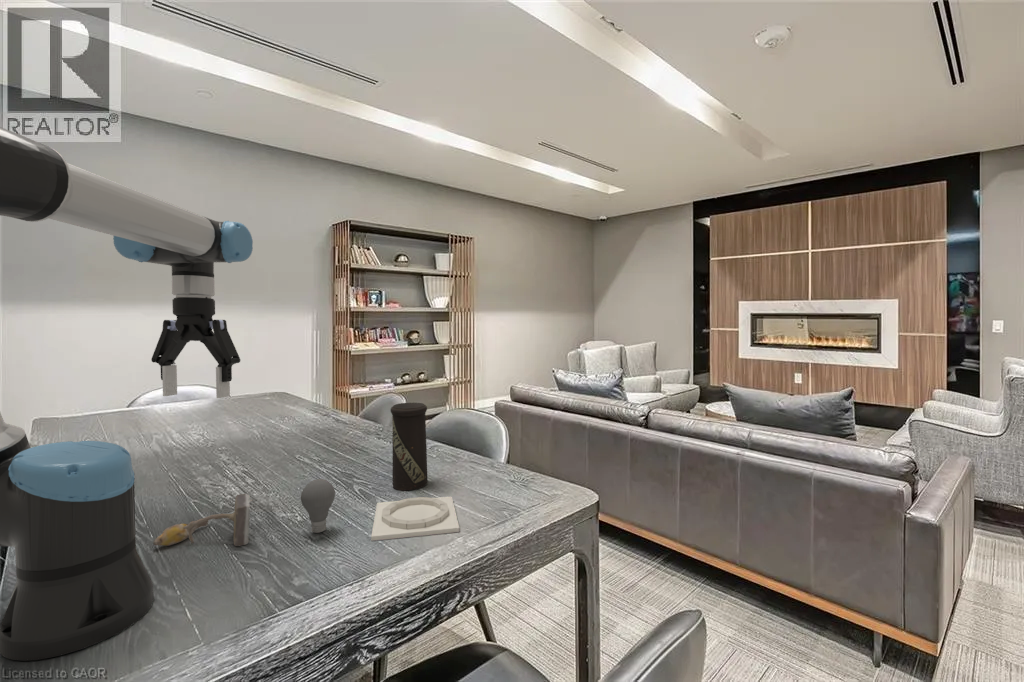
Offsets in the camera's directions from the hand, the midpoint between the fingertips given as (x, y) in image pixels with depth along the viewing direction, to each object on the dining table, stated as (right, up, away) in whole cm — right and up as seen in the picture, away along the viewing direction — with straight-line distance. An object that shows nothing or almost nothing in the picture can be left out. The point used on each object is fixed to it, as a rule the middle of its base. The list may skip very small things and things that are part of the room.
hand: (196, 396), depth 100 cm
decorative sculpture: (+12, -25, -14) cm, 31 cm away
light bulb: (+31, -25, -12) cm, 41 cm away
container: (+43, -23, +13) cm, 51 cm away
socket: (+48, -24, -6) cm, 54 cm away
